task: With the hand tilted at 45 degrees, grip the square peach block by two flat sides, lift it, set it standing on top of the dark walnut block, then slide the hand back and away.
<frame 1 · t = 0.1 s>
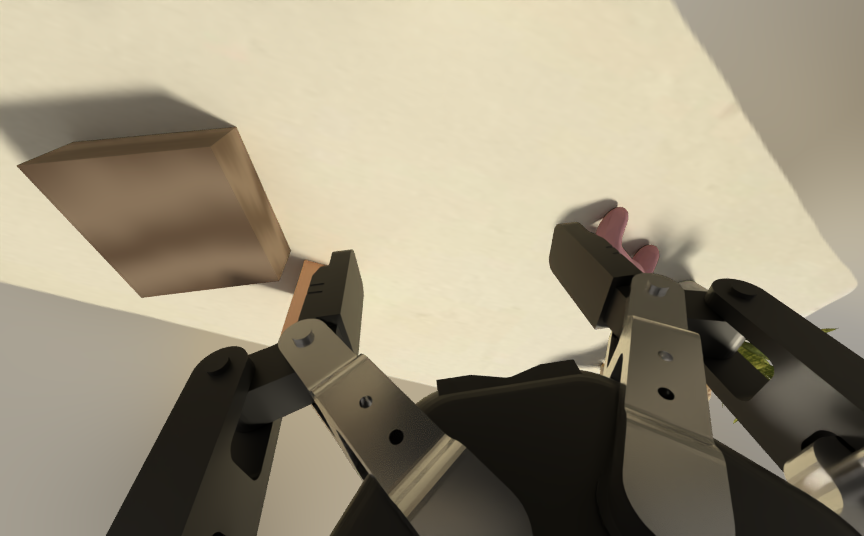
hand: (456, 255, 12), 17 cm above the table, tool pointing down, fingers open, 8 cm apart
peach block: (323, 284, 35), on the table
pink rounded piece: (612, 240, 36), on the table
house plant: (677, 298, 45), on the table
walnut block: (200, 203, 28), on the table
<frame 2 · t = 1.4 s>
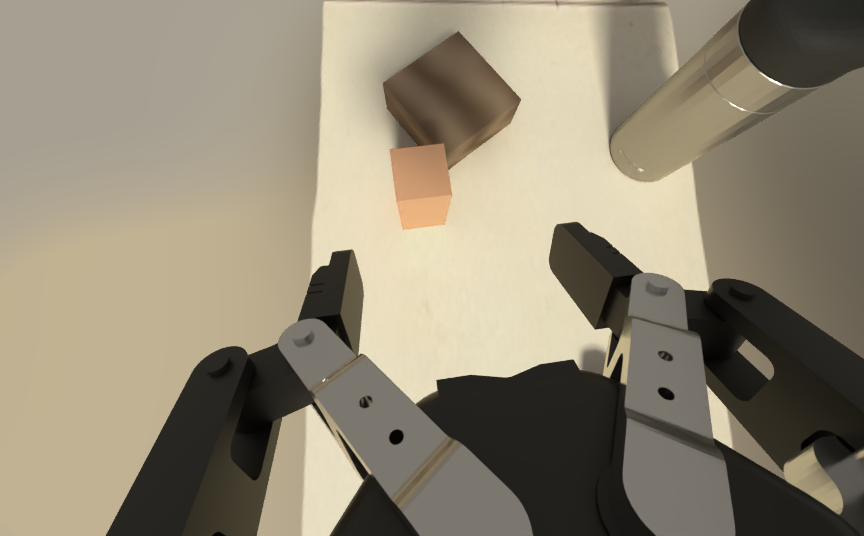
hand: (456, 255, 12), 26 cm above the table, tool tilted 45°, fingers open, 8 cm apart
peach block: (421, 207, 40), on the table
walnut block: (448, 117, 42), on the table
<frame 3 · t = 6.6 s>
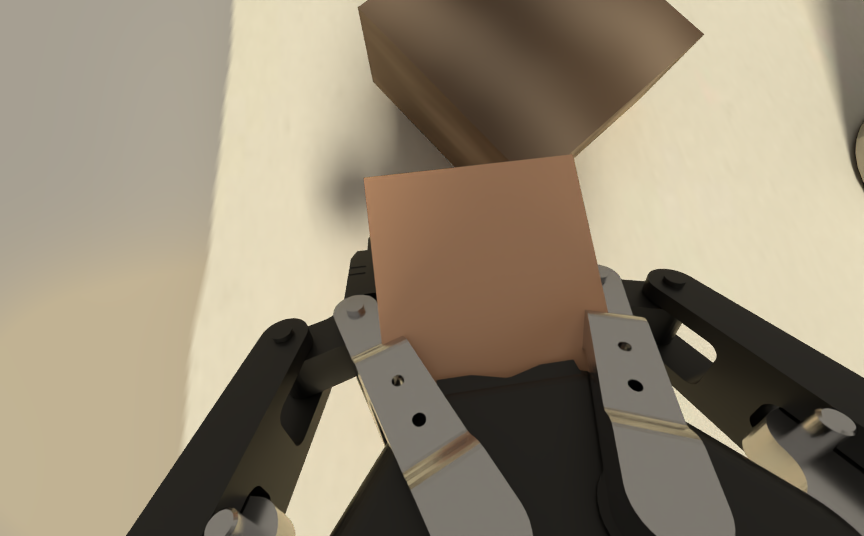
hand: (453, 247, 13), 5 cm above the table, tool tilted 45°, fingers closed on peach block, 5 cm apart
peach block: (449, 297, 17), on the table, touching gripper
walnut block: (505, 94, 20), on the table
when the fingers open (10 cm above the table, at t = 11.9 s): peach block moves 1 cm, point 5 cm above the table.
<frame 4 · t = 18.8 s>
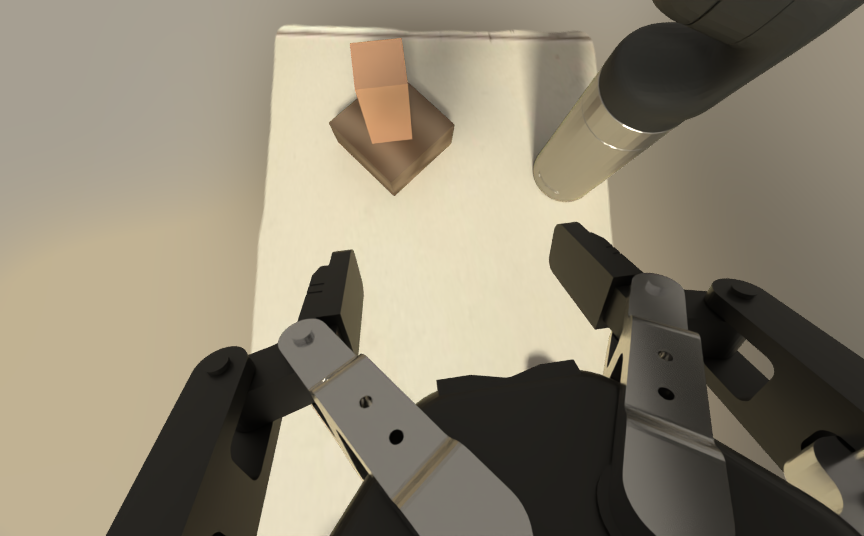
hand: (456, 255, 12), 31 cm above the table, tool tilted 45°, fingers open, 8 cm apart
peach block: (390, 123, 42), point 5 cm above the table
walnut block: (395, 144, 47), on the table
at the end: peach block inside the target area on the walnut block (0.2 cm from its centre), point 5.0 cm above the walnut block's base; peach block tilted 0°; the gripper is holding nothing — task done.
